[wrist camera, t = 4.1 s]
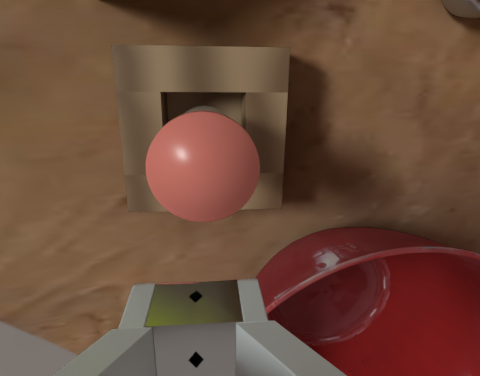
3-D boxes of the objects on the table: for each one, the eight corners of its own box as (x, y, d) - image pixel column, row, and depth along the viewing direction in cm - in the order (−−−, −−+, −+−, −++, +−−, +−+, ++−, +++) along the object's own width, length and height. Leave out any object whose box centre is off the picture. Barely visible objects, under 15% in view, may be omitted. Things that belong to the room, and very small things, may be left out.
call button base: (278, 50, 33) (290, 47, 28) (272, 190, 38) (281, 208, 33) (125, 47, 32) (111, 44, 27) (138, 193, 36) (128, 212, 32)
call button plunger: (243, 96, 28) (261, 112, 19) (242, 172, 30) (258, 220, 21) (163, 96, 28) (140, 112, 18) (167, 173, 30) (149, 223, 21)
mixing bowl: (465, 317, 46) (585, 434, 31) (273, 411, 48) (302, 559, 34) (392, 130, 37) (514, 173, 22) (159, 258, 39) (131, 372, 25)
